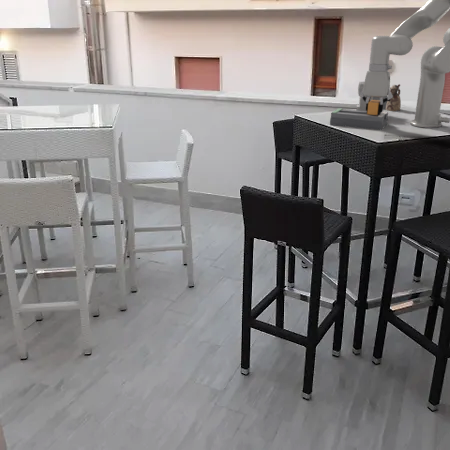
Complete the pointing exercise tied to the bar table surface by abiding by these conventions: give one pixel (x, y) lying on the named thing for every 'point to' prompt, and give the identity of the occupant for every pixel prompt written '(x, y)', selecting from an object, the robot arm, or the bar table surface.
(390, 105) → the figurine
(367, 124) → the switch panel
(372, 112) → the toggle
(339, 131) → the bar table surface
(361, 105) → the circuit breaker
